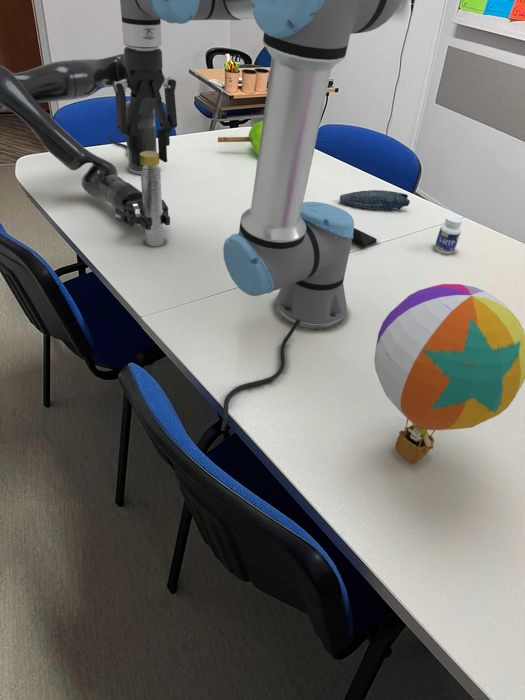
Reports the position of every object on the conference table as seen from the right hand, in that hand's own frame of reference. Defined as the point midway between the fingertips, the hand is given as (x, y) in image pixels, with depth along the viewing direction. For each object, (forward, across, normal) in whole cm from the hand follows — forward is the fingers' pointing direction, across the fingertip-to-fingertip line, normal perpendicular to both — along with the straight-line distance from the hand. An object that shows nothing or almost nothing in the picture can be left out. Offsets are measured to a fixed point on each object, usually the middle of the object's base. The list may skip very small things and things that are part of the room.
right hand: (149, 162), depth 119 cm
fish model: (+20, +69, -9) cm, 73 cm away
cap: (-2, 0, 0) cm, 2 cm away
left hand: (+14, 0, -3) cm, 14 cm away
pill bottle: (+20, +66, -39) cm, 80 cm away
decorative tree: (+20, +64, +45) cm, 81 cm away
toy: (+20, +3, -83) cm, 86 cm away
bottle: (+20, 0, 0) cm, 20 cm away
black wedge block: (+20, +47, -22) cm, 56 cm away
